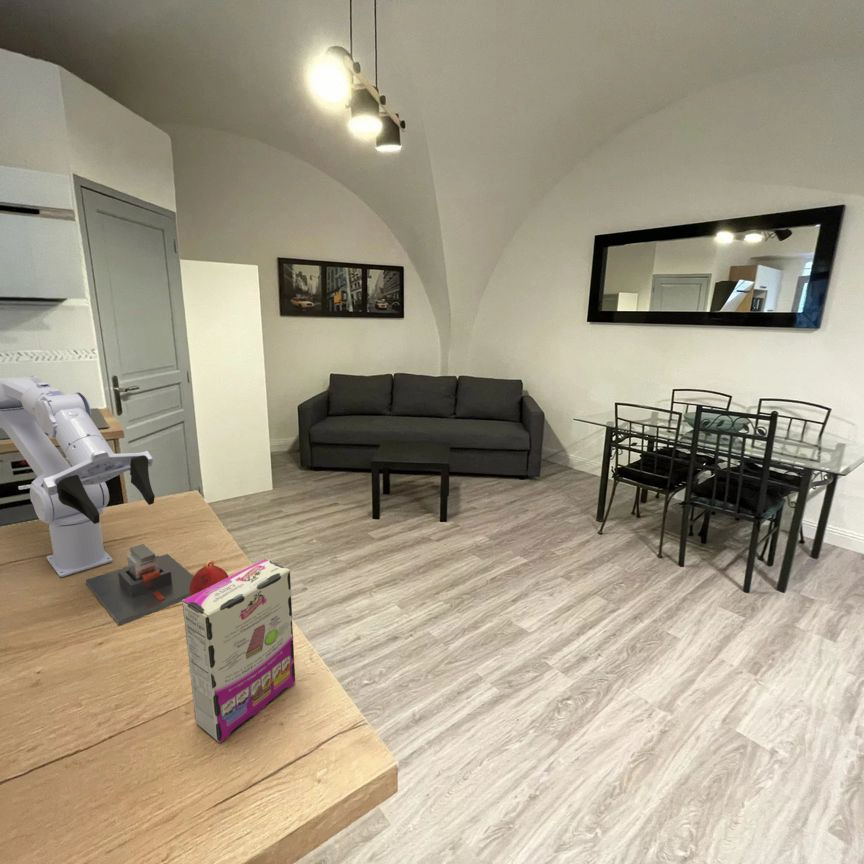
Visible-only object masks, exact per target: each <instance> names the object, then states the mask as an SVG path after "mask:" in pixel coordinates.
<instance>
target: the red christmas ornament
mask: <svg viewBox="0 0 864 864" xmlns="http://www.w3.org/2000/svg"><path fill="white" fill-rule="evenodd" d="M193 576H194V577H193V578H192V580H191V583H190V595H191V596H192V595H194V594H196V593H198V592H200V591H202V590H204V589H206V588H208V587H210V586H212V585H214V584H216V583H218V582H220V581H222V580H224V579H226V578H228V577H229V575H228V573H227V572H226V571H225V569H223V568H222V567H220V566H217V565H215V561H213V560H208V561H206V562H205V564H204V566H203V567H201V568H200V569H199V570H197V571H196V572H195V574H193Z"/></svg>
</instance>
